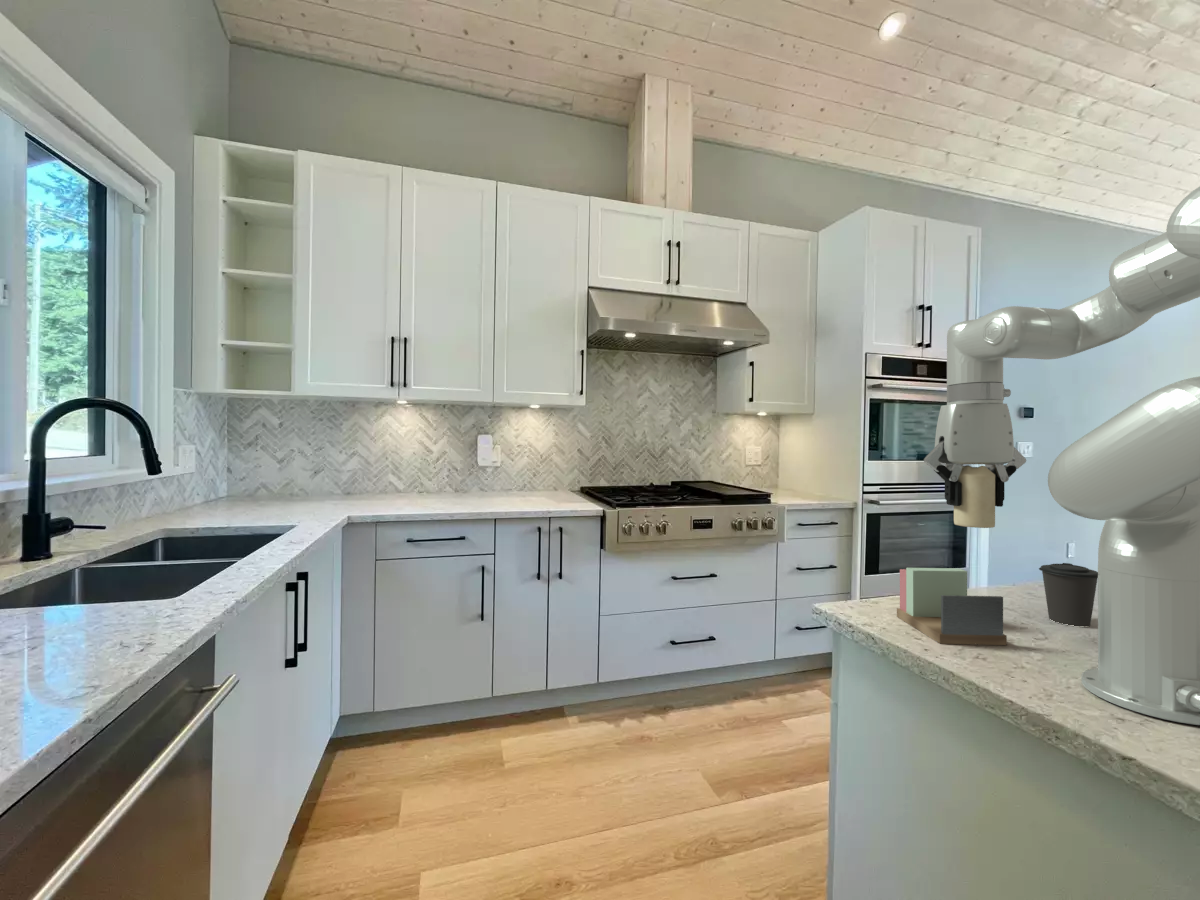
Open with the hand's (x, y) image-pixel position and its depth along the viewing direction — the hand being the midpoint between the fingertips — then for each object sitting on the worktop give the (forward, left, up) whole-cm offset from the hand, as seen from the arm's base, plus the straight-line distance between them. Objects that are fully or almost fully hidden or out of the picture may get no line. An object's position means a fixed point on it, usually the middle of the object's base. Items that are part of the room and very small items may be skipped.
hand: (974, 504), depth 84 cm
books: (+6, +3, -20) cm, 21 cm away
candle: (0, 0, -4) cm, 4 cm away
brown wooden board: (+2, +3, -21) cm, 22 cm away
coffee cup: (+7, -21, -22) cm, 31 cm away
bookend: (-5, +3, -20) cm, 21 cm away
